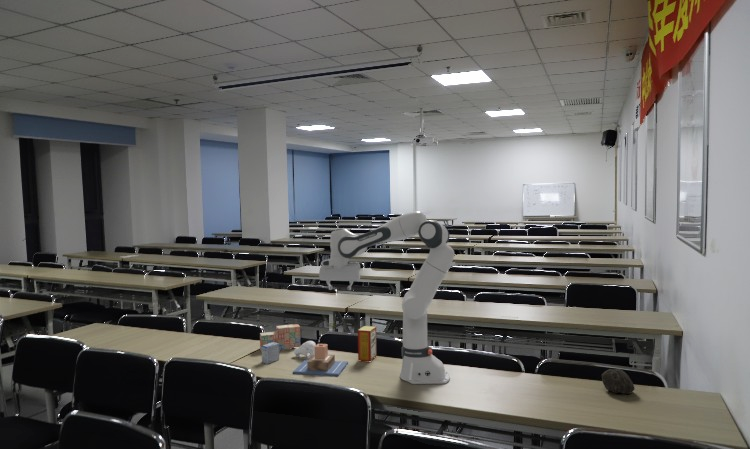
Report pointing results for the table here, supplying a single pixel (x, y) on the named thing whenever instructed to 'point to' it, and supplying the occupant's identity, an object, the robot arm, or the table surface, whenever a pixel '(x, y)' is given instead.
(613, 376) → the rock
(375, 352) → the baking soda box
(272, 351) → the medicine box
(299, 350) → the white animal figurine
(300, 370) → the board
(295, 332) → the stack of blocks
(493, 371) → the table surface
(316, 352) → the snap block
